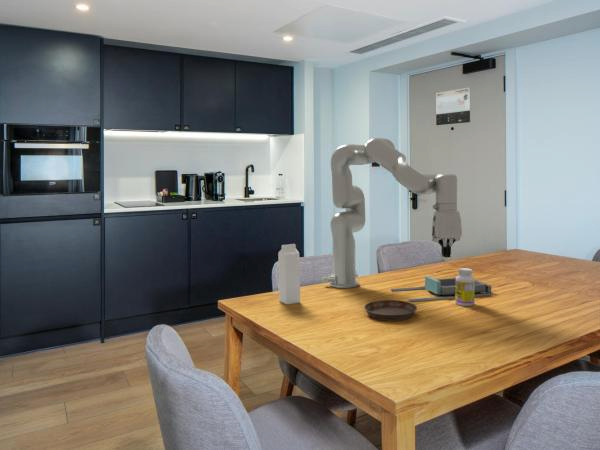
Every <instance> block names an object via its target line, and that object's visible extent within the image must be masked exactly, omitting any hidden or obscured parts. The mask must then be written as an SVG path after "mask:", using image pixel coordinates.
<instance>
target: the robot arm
mask: <svg viewBox="0 0 600 450" xmlns="http://www.w3.org/2000/svg"><path fill="white" fill-rule="evenodd" d="M406 157H407V156H406V155H405V154H404V153H402V152H401V151H399V150H397V149H396V147H395V145H394V143H393V142H392V140H390V139H388V138H381V137H372V138H370V139H369V140H367V142H366V143H365V144H355V143H348V144H347V143H346V144H344V145H341V146H338V147H337V148H336V149H335V150H334V151H333V153H332V155H331V158H330V170H331V185H332V187H331V188H332V189H331V191H332V192H331V193H332V202H333V205H334V206H335V207H336V208H337V209H343V210H344V209H345V211H340V212H338V213H336V214H334V215H333V216H332V218H331V220H330V229H331V231H330V232H331V236H332V256H333V257H332V261H333V262H332V263H333V264H332V265H333V268H332V271H333V272H332V273H331V275H329V276H322V279H321V280H322V282H327V283H329V286H331V287H333V288H337V289H352V288H353V289H354V288H356V287H359V286H360V282H359V281H358V280H356V240H355V238H354V233H357V232H359V231H362V230H363V228H364V227H365V225H366V202H365V201H366V199H365V195H364V194H365V193H364V191H363V189H361V188H360V187H359V186H358V185H353V174H352V171H351V168H350V166H363V165H369V164H372V163H373V164H374V163H376V164H378V165H379V166H381V167H382V168H384V169H385V170H386V171H388V172H389V173H391V174H392V177H393V178H394V179H395V180H396V181H397V182H398V184H400V185H401V186H403V187H404V188H406V189H407V190H409V191H410V192H411V193H413V194H416V195H423V196H424V195H430V194H435V203H434V204H433V205H432V209H434V210H435V211H434V212H433V217H432V223H431V236H432V239H431V241H432V242H434V243H438V244H439V246H441V256H442V257H443V258H451V254H452V247H453V245H454V243H456V242H458V241H460V240H461V238H462V233H463V231H462V230H463V228H462V218H461V213H460V211H459V210H458V177H457V175H456V174H453V173H446V174H445V173H442V174H434V173H420V172H418V171H417V170H416V169H414V168H413V167H411V166H410V165H409V164H408V163H407V158H406Z"/></svg>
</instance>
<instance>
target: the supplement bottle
mask: <svg viewBox="0 0 600 450" xmlns="http://www.w3.org/2000/svg"><path fill="white" fill-rule="evenodd" d="M458 274H459V275H457V276H456V277H455V278H456V287H455V294H454V296H455V298H454V302H455V304H456V305H459V306H463V307H468V306H469V307H470V306H473V305H474V304H475V297H474V294H475V293H474V291H475V280H476V279H475V277H474V276H473V275H472V274H473V269H471V268H468V267H467V268H465V267H463V268H458Z"/></svg>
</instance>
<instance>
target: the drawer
mask: <svg viewBox="0 0 600 450" xmlns="http://www.w3.org/2000/svg"><path fill="white" fill-rule="evenodd" d="M478 281H479V280H477V281H475V291H474V294H481V293H485V284H486V283H485V284H483V283H484V282H482V283H480V282H481V281H480V282H478ZM424 286H425V289H424V290H427V291H429V292H432V294H435V295H440V296H441V295H442V296H454V295H455V287H456V277H449V278H435V277H432V276H430V275H426V276H424Z"/></svg>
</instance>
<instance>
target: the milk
mask: <svg viewBox="0 0 600 450" xmlns="http://www.w3.org/2000/svg"><path fill="white" fill-rule="evenodd" d="M277 253H278V254H277V256H278V257H277V258H278V261H277V262H278V294H279V295H278V296H279V300H278V301H279V302H281V303H283V304H285V305H291V304H298V303H301V276H300V275H301V273H300V271H301V269H300V267H301V266H300V265H301V263H300V262H301V261H300V260H301V259H300V252H299V250H298V249H297V245H296V243H289V244H282V245H281V248H280V250H279V251H278V252H277Z"/></svg>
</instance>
